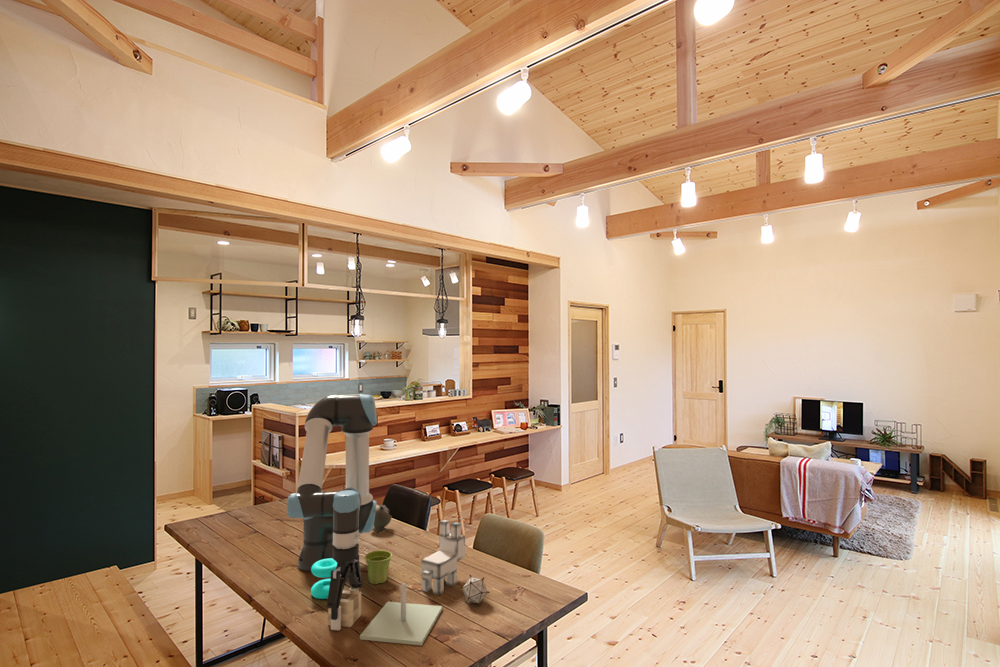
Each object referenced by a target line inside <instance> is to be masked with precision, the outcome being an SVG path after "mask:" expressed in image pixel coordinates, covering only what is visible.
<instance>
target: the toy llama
mask: <svg viewBox="0 0 1000 667" xmlns="http://www.w3.org/2000/svg"><path fill="white" fill-rule="evenodd" d="M465 557H466V535H463V534H462V523H461V522H456V521H454V522H452V523H450V520H446V519H443V520H440V521H439V550H438V551H435V552H434V553H432V554H429V555H428V556H426V557H424V558H423V559H421V565H420V566H421V570H420V571H421V572H420V574H421V576H420V578H421V579H420V582H421V583H420V584H421V585H420V586H421V588H420V590H421V591H423V592H426V593H427V592H429V591H431V590H432V594H433V595H437V596H441V595H443V594H444V593H445V592H444V583H445V582H446V586H449V587H451V588H452V587H454V586H456V585H457V584H458V582H457V578H458V576H457V574H458V571H457V570H458V568H457V567H458V565H457V564H458V562H459V561H460V560H462V559H464V558H465Z"/></svg>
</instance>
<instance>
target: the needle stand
mask: <svg viewBox="0 0 1000 667" xmlns="http://www.w3.org/2000/svg"><path fill="white" fill-rule="evenodd" d="M442 611H443V605H432V604H421V603H420V604H419V603H409V602H408V603H407V583H406V582H402V583H401V584H400V602H396V601H386V603H385V604H384V606H382V608H381V609H380V610H379V612H378V613H377V614H376V615H375V616H374V618H373V619H372V620H371V621H370V623H369V624H368V625H367V627H365V629H364V630H363V631H362V632H361V633H360V635H359V640H363V641H373V642H374V641H375V642H381V643H382V642H384V643H392V644H402V645H403V644H404V645H411V646H412V645H413V646H423V644H424V642H425V641H426V639H427V637H428V635H429V634H430V632H431V630H432V629H433V627H434V626H435V623H436V621H437V619H438V618H439V617H440V614H441V612H442Z"/></svg>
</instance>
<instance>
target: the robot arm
mask: <svg viewBox="0 0 1000 667" xmlns="http://www.w3.org/2000/svg"><path fill="white" fill-rule="evenodd" d="M375 402H376V400H375V398H374V396H373V395H372V394H363V393H356V394H355V393H353V394H330V395H327V396H324V397H323V398H320V399H319V400H318V401H317V402H315V404H314V405H313V406H312V407H311V408H310V410H309V412H308V413H307V415H306V418H305V420H304V421H305V422H304V430H305V432H306V434H305V441H304V445H303V446H304V447H303V452H302V458H301V465H300V471H299V476H298V482H297V487H296V488H297V490H296V492H294V493H290V494H289V495H288V497H287V502H286V514H287V516H288V517H289V518H291V519H303V537H302V538H303V543H302V544H303V545H302V548H301V550H300V553H299V556H298V560H297V567H298V569H299V570H301V571H304V572H311V568H312V565H313V564H314V563H316V562H317V561H319V560H323V559H328V558H333V560H335V561H336V562H337V567H336V570H335V571H334V570H332V571H331V577H330V579H331V581H330V587H329V593H328V599H327V602H326V609H328V608H330V609H331V625H330V630H331V631H340V630H342V626H341V606H339V605H340V601H341V597H342V592H343V590H344V589H345V588H344V587H345V585H346V584H345V583H347V582H348V584H349V586H350V587H349V589H348V591H358V592H359V589H361V588H362V586H363V584H362V582H363V577H362V571H361V565H360V553H359V551H360V548H359V547H360V546H359V545H360V544H359V542H360V540H359V538H360V537H361V536H360V535H361V534H364V533H365V534H366V533H370V532H372V531H373V530H374V520H375V512H376V505H377V504H378V503H377V500H374V497H373V495H372V494H371V493H370V434H371V432H372V431H374V426H376V425H377V424H378V417H377V408H376V403H375ZM333 427H341V432H342V433H343V434H344V435H345V488H344V489H342V490H333V491H331V490H330V491H323V484H324V483H323V482H324V475H325V466H326V459H327V451H328V442H329V434H330V433H331V432H332V430H333Z"/></svg>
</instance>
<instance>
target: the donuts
mask: <svg viewBox="0 0 1000 667" xmlns="http://www.w3.org/2000/svg"><path fill="white" fill-rule="evenodd" d="M336 567H337V562H336V561H335V560H333V558H328V559H323V560H319V561H317V562H316V563H314V564H313V565H312V568H311V571H310V572H311V574H312V575H313V576H314V577H317V578H324V579H320V580H318V581H317V582H315V583H314V584H312V587H311V589H310V594H311V596H312V597H314V598H315V599H320V600H325V599H327V600H328V593H329V587H330V581H331V571H332V570H334V571H335V570H336Z"/></svg>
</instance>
